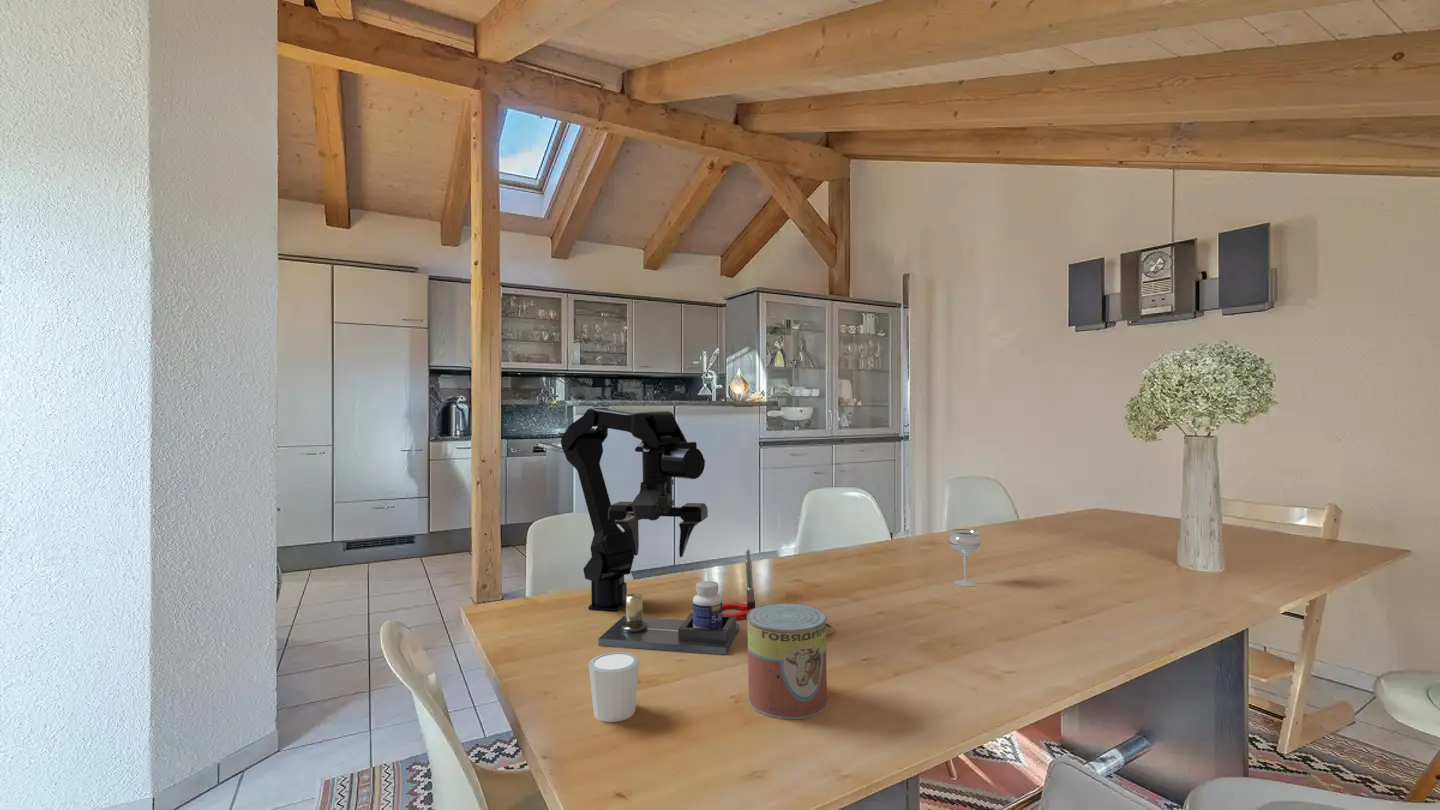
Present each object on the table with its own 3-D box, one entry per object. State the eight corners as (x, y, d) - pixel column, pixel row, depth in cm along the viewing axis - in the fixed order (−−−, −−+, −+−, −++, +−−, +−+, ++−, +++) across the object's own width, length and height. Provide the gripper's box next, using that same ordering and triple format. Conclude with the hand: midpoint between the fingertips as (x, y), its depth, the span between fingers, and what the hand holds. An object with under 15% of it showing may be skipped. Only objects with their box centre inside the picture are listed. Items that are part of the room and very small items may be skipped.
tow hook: (708, 623, 122) (756, 620, 122) (704, 557, 122) (751, 554, 122) (711, 609, 131) (755, 607, 130) (707, 547, 131) (751, 545, 130)
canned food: (771, 726, 81) (770, 634, 82) (735, 691, 92) (733, 609, 92) (843, 709, 86) (842, 621, 86) (801, 676, 96) (800, 599, 96)
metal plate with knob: (598, 645, 110) (598, 604, 110) (623, 622, 122) (623, 585, 122) (725, 654, 105) (725, 612, 105) (739, 629, 117) (738, 591, 117)
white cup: (592, 701, 89) (591, 652, 89) (640, 698, 90) (639, 650, 90) (586, 725, 82) (585, 672, 82) (638, 722, 83) (637, 670, 83)
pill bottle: (716, 640, 109) (715, 589, 109) (688, 636, 110) (687, 586, 110) (726, 629, 114) (725, 581, 114) (700, 626, 115) (699, 578, 115)
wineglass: (953, 587, 142) (952, 534, 142) (947, 578, 149) (946, 528, 149) (984, 588, 141) (983, 535, 141) (977, 579, 148) (976, 529, 148)
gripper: (595, 480, 116) (596, 564, 116) (692, 481, 112) (694, 568, 111) (618, 473, 126) (619, 550, 126) (707, 474, 122) (708, 554, 122)
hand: (658, 555), depth 121 cm, fingers open, 9 cm apart
